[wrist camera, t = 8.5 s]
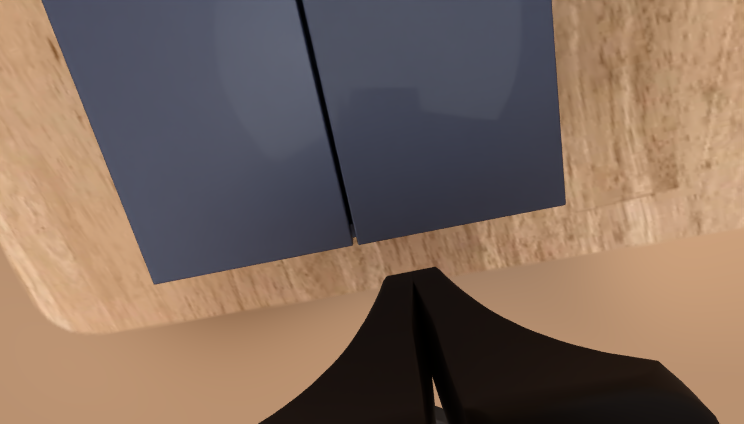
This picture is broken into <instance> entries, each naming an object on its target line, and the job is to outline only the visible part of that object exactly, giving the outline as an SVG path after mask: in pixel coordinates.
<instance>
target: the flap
mask: <svg viewBox="0 0 744 424" xmlns="http://www.w3.org/2000/svg"><path fill="white" fill-rule="evenodd" d="M42 3H43V5H44V8H45V10H46V13H47V15H48V18H49V20H50V23H51V26H52V28H53V31H54V33H55V36H56V38H57V41H58V43H59V46H60V48H61V51H62V53H63V56H64V58H65V61H66V63H67V66H68V68H69V71H70V74H71V76H72V79H73V81H74V84H75V86H76V89H77V91H78V94H79V96H80V99H81V101H82V104H83V106H84V109H85V111H86V114H87V116H88V119H89V122H90V124H91V127H92V129H93V132H94V134H95V137H96V139H97V142H98V144H99V147H100V149H101V152H102V154H103V157H104V159H105V162H106V164H107V167H108V170H109V172H110V175H111V177H112V180H113V182H114V185H115V187H116V190H117V192H118V195H119V197H120V200H121V202H122V205H123V207H124V210H125V212H126V215H127V218H128V220H129V223H130V225H131V228H132V230H133V233H134V235H135V238H136V240H137V243H138V245H139V248H140V250H141V253H142V255H143V258H144V260H145V263H146V266H147V268H148V271H149V273H150V276H151V278H152V281H153V283H154V284H160V283H165V282H170V281H175V280H180V279H185V278H190V277H195V276H200V275H205V274H211V273H216V272H221V271H226V270H231V269H236V268H241V267H246V266H251V265H256V264H261V263H266V262H271V261H276V260H282V259H287V258H292V257H297V256H302V255H307V254H312V253H317V252H322V251H327V250H332V249H337V248H342V247H347V246H352V245H353V237H352V233H351V228H350V224H349V220H348V216H347V211H346V207H345V203H344V198H343V194H342V190H341V185H340V181H339V177H338V173H337V168H336V164H335V160H334V155H333V151H332V147H331V142H330V138H329V134H328V129H327V125H326V121H325V117H324V112H323V108H322V104H321V99H320V95H319V91H318V86H317V82H316V78H315V74H314V69H313V65H312V61H311V56H310V52H309V48H308V43H307V39H306V35H305V31H304V26H303V22H302V18H301V13H300V9H299V5H298V0H42Z"/></svg>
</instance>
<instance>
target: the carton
mask: <svg viewBox="0 0 744 424" xmlns="http://www.w3.org/2000/svg"><path fill="white" fill-rule="evenodd" d="M298 5H299V9H300V13H301V18H302V22H303V26H304V31H305V35H306V39H307V43H308V48H309V52H310V56H311V61H312V65H313V69H314V74H315V78H316V82H317V86H318V91H319V95H320V99H321V104H322V108H323V112H324V117H325V121H326V125H327V129H328V134H329V138H330V142H331V147H332V151H333V155H334V160H335V164H336V168H337V173H338V177H339V181H340V185H341V190H342V194H343V198H344V203H345V207H346V211H347V216H348V220H349V224H350V228H351V233H352V237H353V238H354V237H356V238H357V242H358V244H359V245H361V244H366V243H371V242H376V241H382V240H387V239H392V238H397V237H402V236H407V235H413V234H418V233H423V232H428V231H433V230H438V229H444V228H449V227H454V226H459V225H464V224H469V223H474V222H480V221H485V220H490V219H495V218H500V217H505V216H511V215H516V214H521V213H526V212H531V211H536V210H541V209H547V208H552V207H557V206H562V205H565V204H566V200H565V186H564V172H563V157H562V143H561V129H560V115H559V100H558V86H557V72H556V58H555V44H554V29H553V15H552V1H551V0H298Z"/></svg>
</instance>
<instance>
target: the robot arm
mask: <svg viewBox="0 0 744 424" xmlns="http://www.w3.org/2000/svg"><path fill="white" fill-rule="evenodd" d="M432 377H433V380H434V383H435V386H436V389H437V392H438V395H439V398H440V402H441V405H442V408H443V411H444V414H445V417H446V420H447V423H448V424H719V422H718V420H717V418H716V416H715V415H714V414H713V413H712V412H711V411H710V410H709V409H708V408H707V407H706V406H705V405H704V404H703V403H702V402H701V401H700V400H699V399H698V397H697V396H696V395H695V394H694V393H693V392H692V391H691V390H690V389H689V388H688V387H687V386H686V385H685V384H684V383H683V382H682V381H681V380H679V379H678V378H677V377H676V376H675V375H674V374H672V373H671V372H670V371H669V370H668V369H667V368H666V367H664V366H663V365H662V364H661V363H660V362H659V361H655V360H649V359H643V358H636V357H630V356H624V355H617V354H611V353H606V352H601V351H597V350H592V349H589V348H584V347H581V346H576V345H573V344H569V343H566V342H563V341H559V340H556V339H554V338H551V337H548V336H545V335H542V334H540V333H537V332H534V331H532V330H529V329H526V328H524V327H522V326H520V325H518V324H516V323H514V322H512V321H510V320H508V319H505V318H503V317H502V316H500V315H498V314H496V313H494V312H493V311H491V310H489V309H488V308H486V307H485V306H483V305H482V304H480V303H479V302H477V301H476V300H475V299H473V298H472V297H470V296H469V295H468V294H466V293H465V292H464V291H462V290H461V289H460V288H459V287H458V286H456V285H455V284H454V283H453V282H452V281H451V280H450V279H449V278H447V277H446V276H445V275H444V274H443V273H442V272H441V271H440V270H439V269H438V268H436V267H432V268H426V269H421V270H416V271H411V272H406V273H401V274H396V275H391V276H387V277H386V278H385V279H384V281H383V284H382V286H381V289H380V291H379V294H378V296H377V298H376V300H375V302H374V305H373V306H372V308H371V310H370V312H369V314H368V316H367V318H366V319H365V321H364V323H363V324H362V326H361V327H360V329H359V331H358V332H357V334H356V335H355V337H354V338H353V340H352V341H351V343H350V344H349V346H348V347H347V348H346V349H345V351H344V352H343V353H342V354H341V355H340V357H339V358H338V359H337V360H336V361H335V362H334V363H333V364H332V365H331V366H330V367H329V368H328V369H327V370H326V371H325V372H324V373H323V374H322V375H321V376H320V377H319V378H318V379H317V380H316V381H315V382H314V383H313V384H312V385H311V386H309V387H308V388H307V389H306V390H305V391H303V392H302V393H301V394H300V395H299V396H297V397H296V398H295V399H293V400H292V401H291V402H289V403H288V404H287V405H285V406H284V407H283V408H281V409H280V410H278V411H277V412H276V413H274V414H273V415H271V416H270V417H268V418H266V419H265V420H263V421H262V422H260V423H259V424H437V423H436V412H435V402H434V392H433V382H432Z"/></svg>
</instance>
